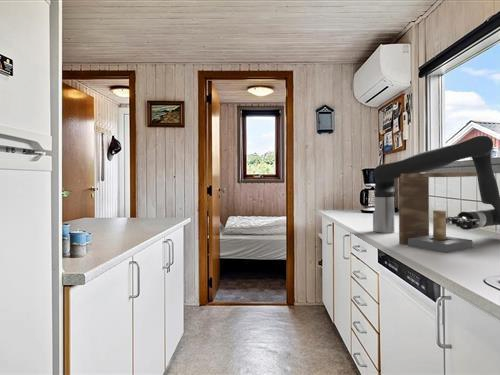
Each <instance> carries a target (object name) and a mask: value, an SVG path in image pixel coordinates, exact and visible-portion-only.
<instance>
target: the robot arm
mask: <svg viewBox="0 0 500 375" xmlns="http://www.w3.org/2000/svg"><path fill="white" fill-rule="evenodd" d="M493 149H494V140H493V139H492V138H491V137H490V136H488V135H483V134H479V135H476V136H473V137H470V138H468V139H466V140H463V141H460V142H457V143H455V144H451V145H445V146H442V147H437V148H433V149H430V150H427V151H423V152H419V153H418V154H415V155H411V156H409V157H406V158H404V159H402V160H399V161H394V162H389V163H383V164H381V163H380V164H378V166H376V167H375V168H374V170H373V172H372V173H373V178H374V192H373V193H374V194H373V195H374V198H373V199H374V200H373V201H374V211H373V212H372V231H373V232H375V233H383V234H391V233H395V189H396V188H395V187H396V184H395V183H396V179H399V177H401V174H413V173H429V172H430V171H435V170H438V169H441V168H444V167H447V166H448V165H450V164H452V163H453V164H454V163H455V162H457V161H460V160H463V159H468V158H471V159H472V161H473V164H474V168H475V172H477V176H476V177H477V185H478V190H479V195H480V200H481V203H482V204H483V205H491V206H492V207H493V209H492V208H491V209H485V210H482V209H481V210H466V211H460V212H459V213H458V214H457V215H454V216H448V215H446V226H454V227H455V226H456V227H457V228H460V229H462V230H464V231H467V230H469V231H470V230H475V229H477V230H478V229H480V228H485V227H492V226H500V191H499V186H498V182H497V180H496V176H495V174H494V170H493V166H492V165H493V164H492V156H491V154H492V153H491V152H492V150H493Z"/></svg>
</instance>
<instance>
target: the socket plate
mask: <svg viewBox="0 0 500 375" xmlns="http://www.w3.org/2000/svg"><path fill="white" fill-rule="evenodd" d="M473 241H474V240H473V239H469V238H462V237H452V236H448V235H446V241H438V240H433V234H429V235H428V236H421V237H414V238H408V244H407V246H408V247H412V248H417V249H422V248H423V249H424V250H428V251H433V252H440V253H452V252H457V251H458V250H459V251H463V250H468V249H473V243H474V242H473Z"/></svg>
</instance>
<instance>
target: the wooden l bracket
mask: <svg viewBox="0 0 500 375" xmlns="http://www.w3.org/2000/svg"><path fill="white" fill-rule="evenodd" d="M462 177H463V178H466V177H467V178H469V177H477V172H476V171H473V172H471V171H470V172H423V173H413V174H401V177H399V178H398V239H399V240H398V244H399V245H408V238H414V237H421V236H428V235H430V195H429V194H430V189H429V188H430V181H429V180H430V178H462Z"/></svg>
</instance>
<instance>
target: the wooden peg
mask: <svg viewBox="0 0 500 375" xmlns="http://www.w3.org/2000/svg"><path fill="white" fill-rule="evenodd" d="M432 215H433V216H432V221H433V222H432V224H433V226H432V235H433V240H438V241H446V236H447V224H446V217H447V211H446V210H444V209H443V210H442V209H436V210H432Z"/></svg>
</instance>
